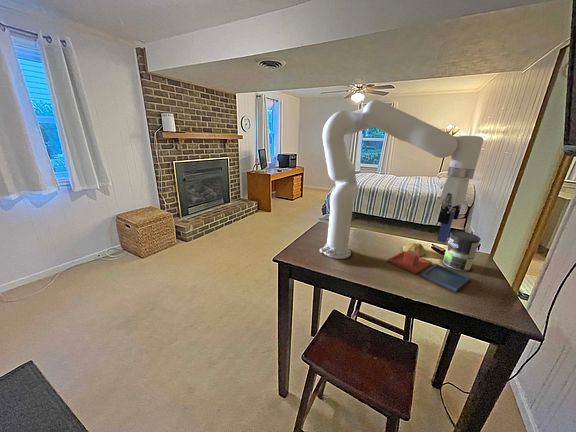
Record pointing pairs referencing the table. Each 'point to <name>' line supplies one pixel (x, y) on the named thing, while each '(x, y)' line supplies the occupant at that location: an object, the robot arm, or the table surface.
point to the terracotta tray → (416, 268)
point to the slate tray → (446, 277)
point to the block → (411, 257)
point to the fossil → (415, 248)
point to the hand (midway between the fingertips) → (447, 220)
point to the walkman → (446, 228)
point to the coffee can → (461, 250)
